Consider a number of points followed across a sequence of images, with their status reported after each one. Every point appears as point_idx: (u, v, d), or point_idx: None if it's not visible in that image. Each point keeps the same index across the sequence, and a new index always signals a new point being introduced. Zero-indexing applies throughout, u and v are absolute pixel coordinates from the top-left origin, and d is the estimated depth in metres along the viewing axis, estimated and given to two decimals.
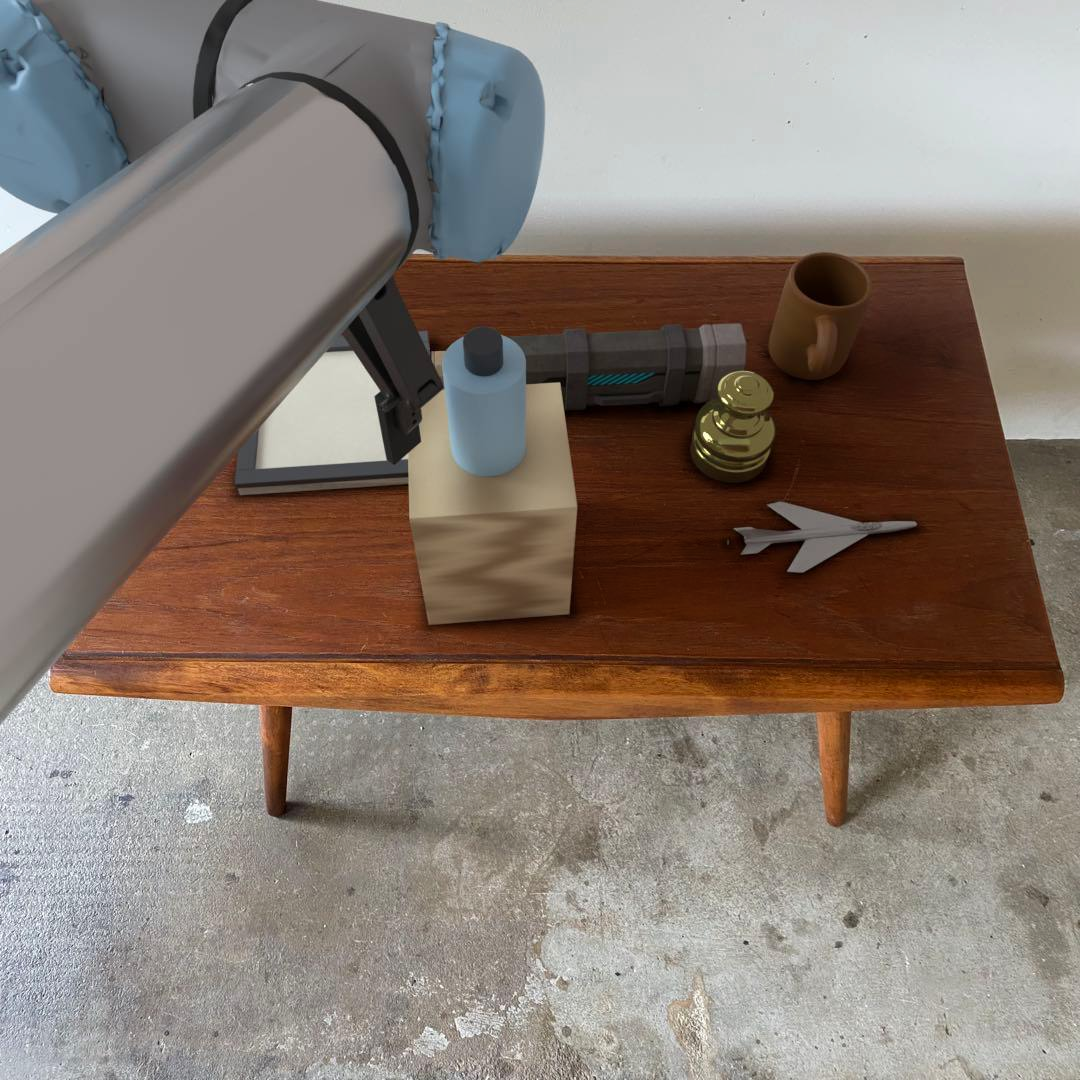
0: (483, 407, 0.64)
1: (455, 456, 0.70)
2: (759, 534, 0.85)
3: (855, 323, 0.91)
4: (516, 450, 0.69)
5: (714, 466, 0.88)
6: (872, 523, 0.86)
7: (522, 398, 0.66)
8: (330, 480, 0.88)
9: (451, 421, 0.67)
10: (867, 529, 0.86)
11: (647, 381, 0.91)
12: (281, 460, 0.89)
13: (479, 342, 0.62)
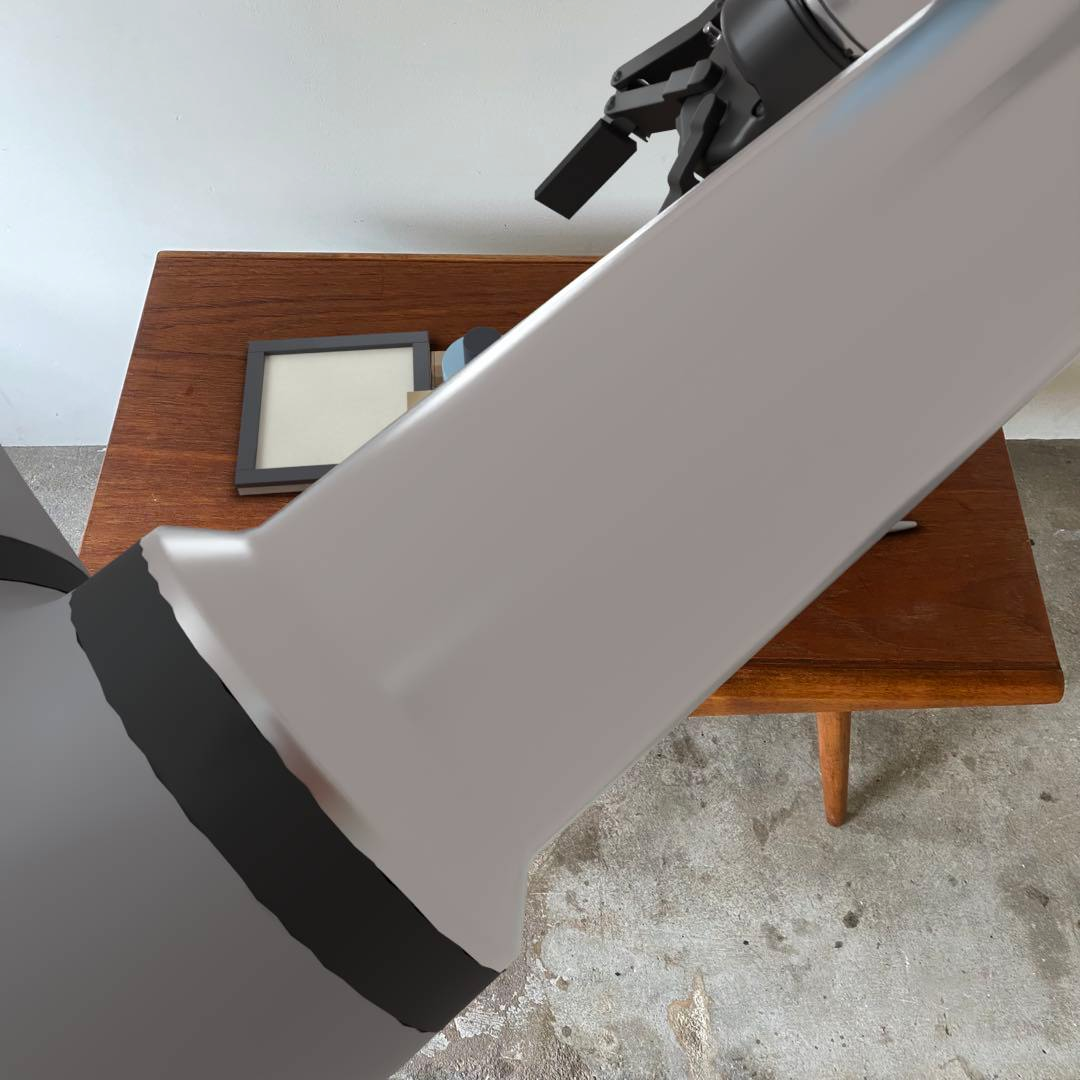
0: None
1: None
2: None
3: None
4: None
5: None
6: None
7: None
8: None
9: None
10: None
11: None
12: (281, 460, 0.89)
13: (479, 342, 0.62)
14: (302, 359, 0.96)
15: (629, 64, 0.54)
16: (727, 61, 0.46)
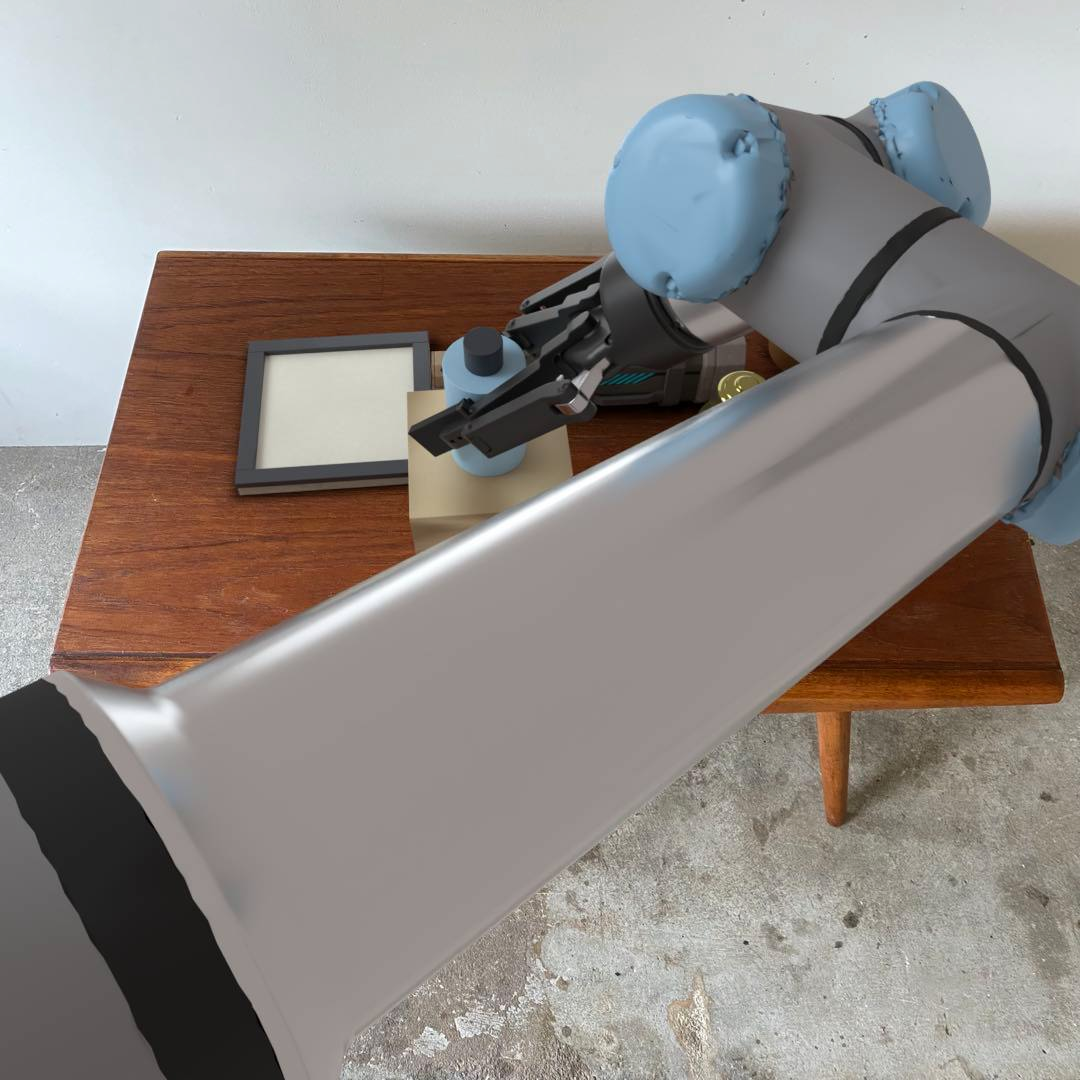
0: None
1: (455, 456, 0.70)
2: None
3: None
4: (516, 450, 0.69)
5: None
6: None
7: None
8: (330, 480, 0.88)
9: None
10: None
11: (647, 381, 0.91)
12: (281, 460, 0.89)
13: (479, 342, 0.62)
14: (302, 359, 0.96)
15: (537, 295, 0.66)
16: None
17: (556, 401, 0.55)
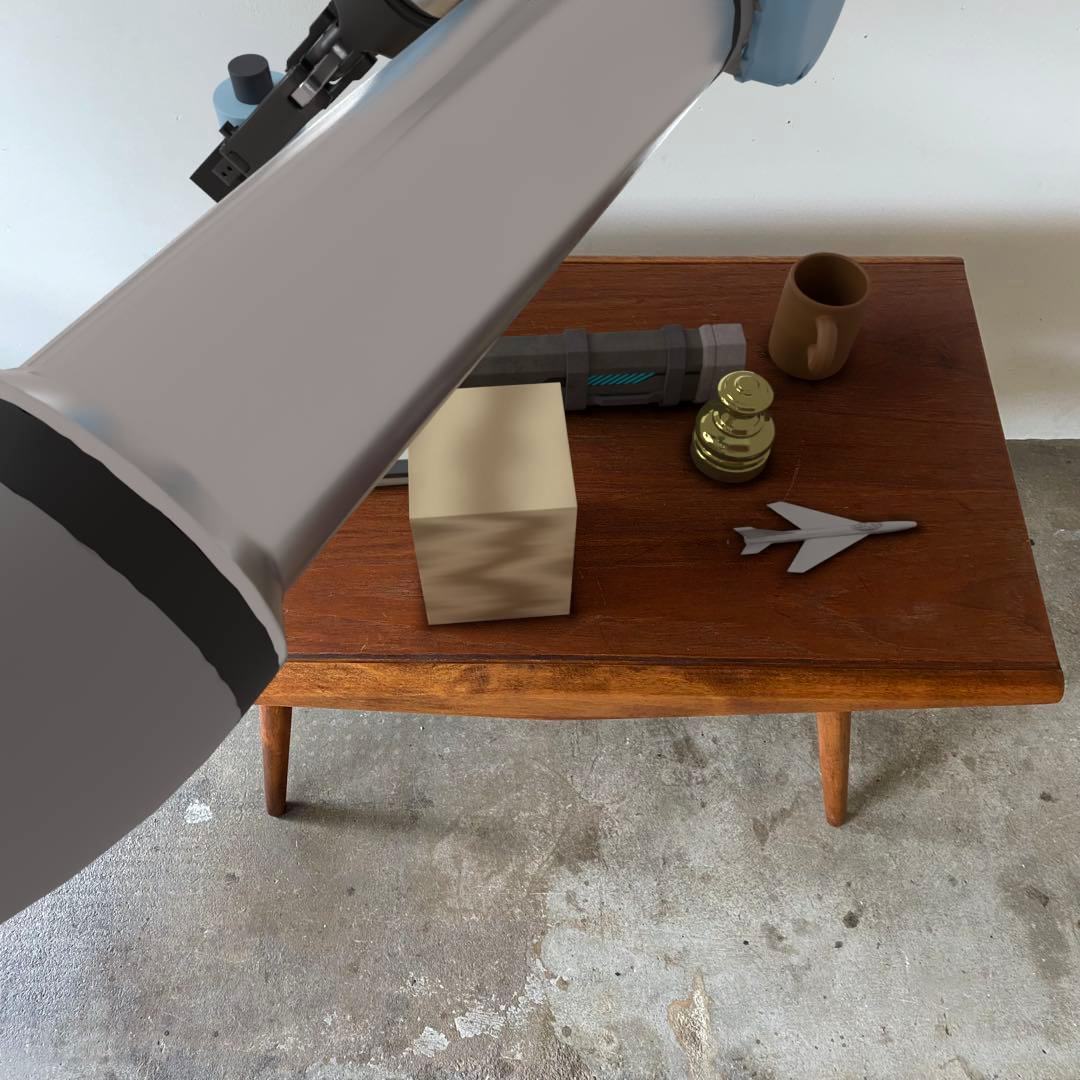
0: None
1: None
2: (759, 534, 0.85)
3: (855, 323, 0.91)
4: None
5: (714, 466, 0.88)
6: (872, 523, 0.86)
7: (298, 135, 0.65)
8: None
9: None
10: (867, 529, 0.86)
11: (647, 382, 0.91)
12: None
13: (243, 65, 0.62)
14: None
15: None
16: None
17: (289, 87, 0.55)
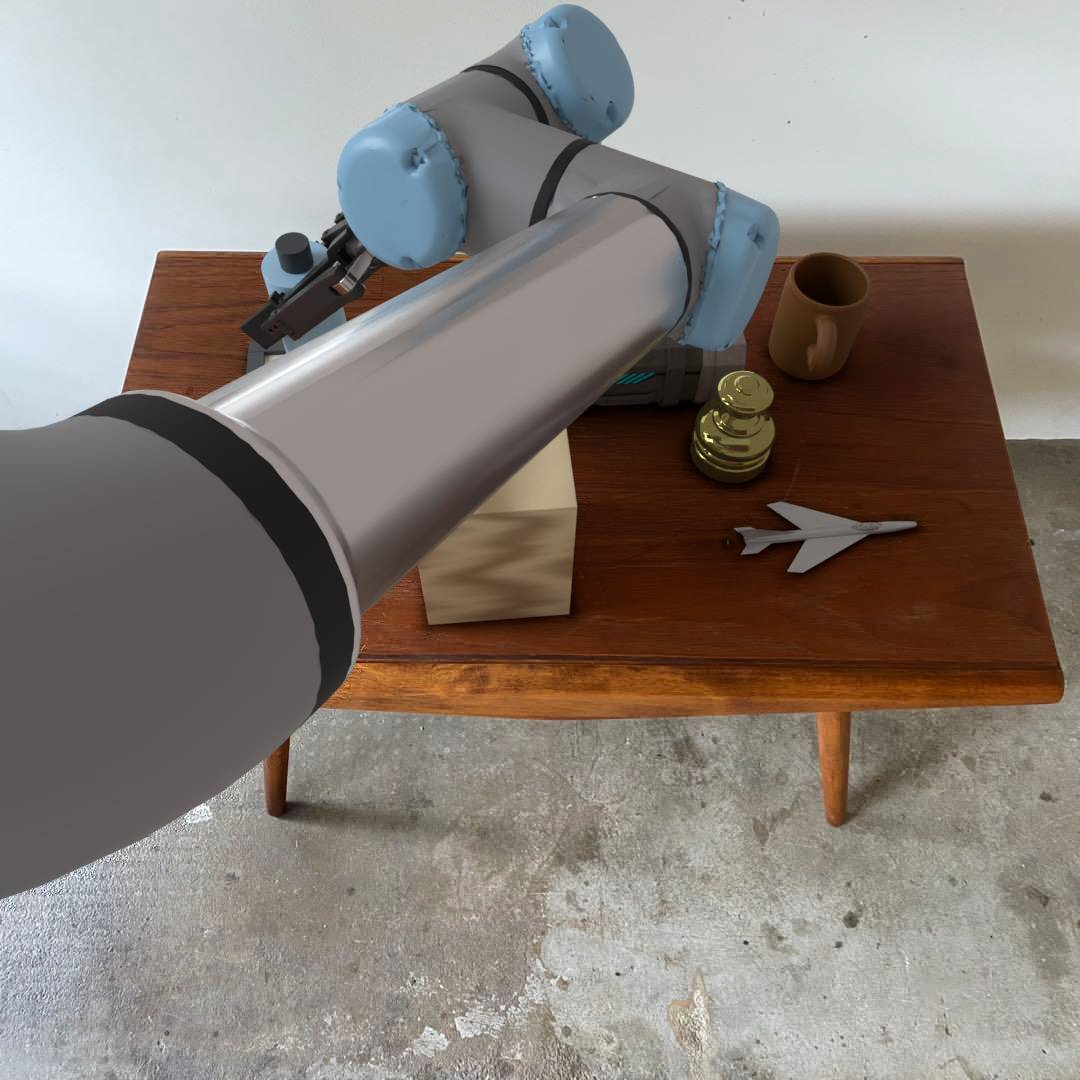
0: None
1: (286, 351, 0.82)
2: (759, 534, 0.85)
3: (855, 323, 0.91)
4: None
5: (714, 466, 0.88)
6: (872, 523, 0.86)
7: None
8: None
9: None
10: (867, 529, 0.86)
11: (647, 382, 0.91)
12: None
13: (288, 243, 0.74)
14: None
15: None
16: None
17: (330, 281, 0.67)
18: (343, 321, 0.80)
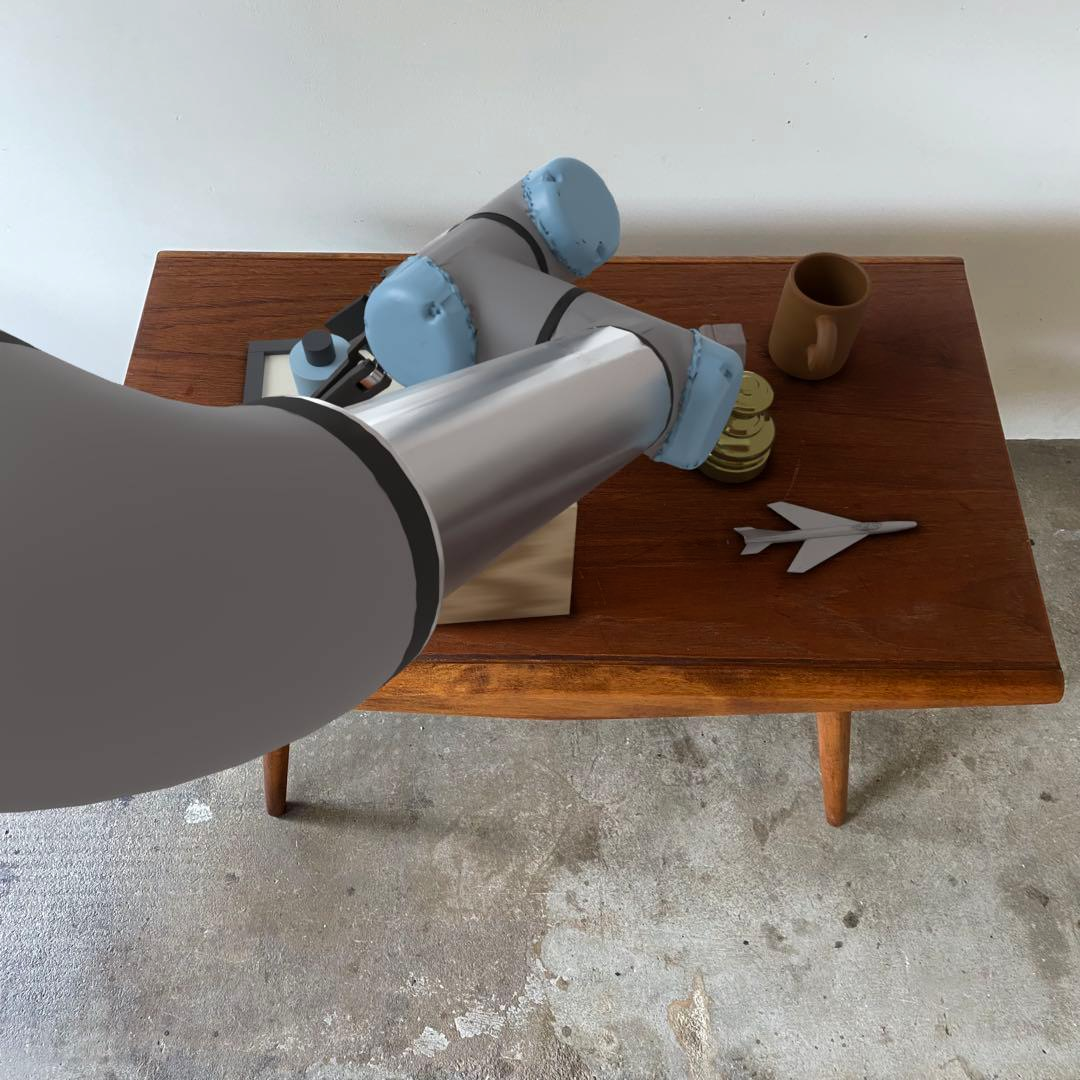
0: None
1: None
2: (759, 534, 0.85)
3: (855, 323, 0.91)
4: None
5: (714, 466, 0.88)
6: (872, 523, 0.86)
7: None
8: None
9: None
10: (867, 529, 0.86)
11: None
12: None
13: (313, 340, 0.83)
14: None
15: (390, 268, 0.86)
16: None
17: (361, 375, 0.73)
18: None
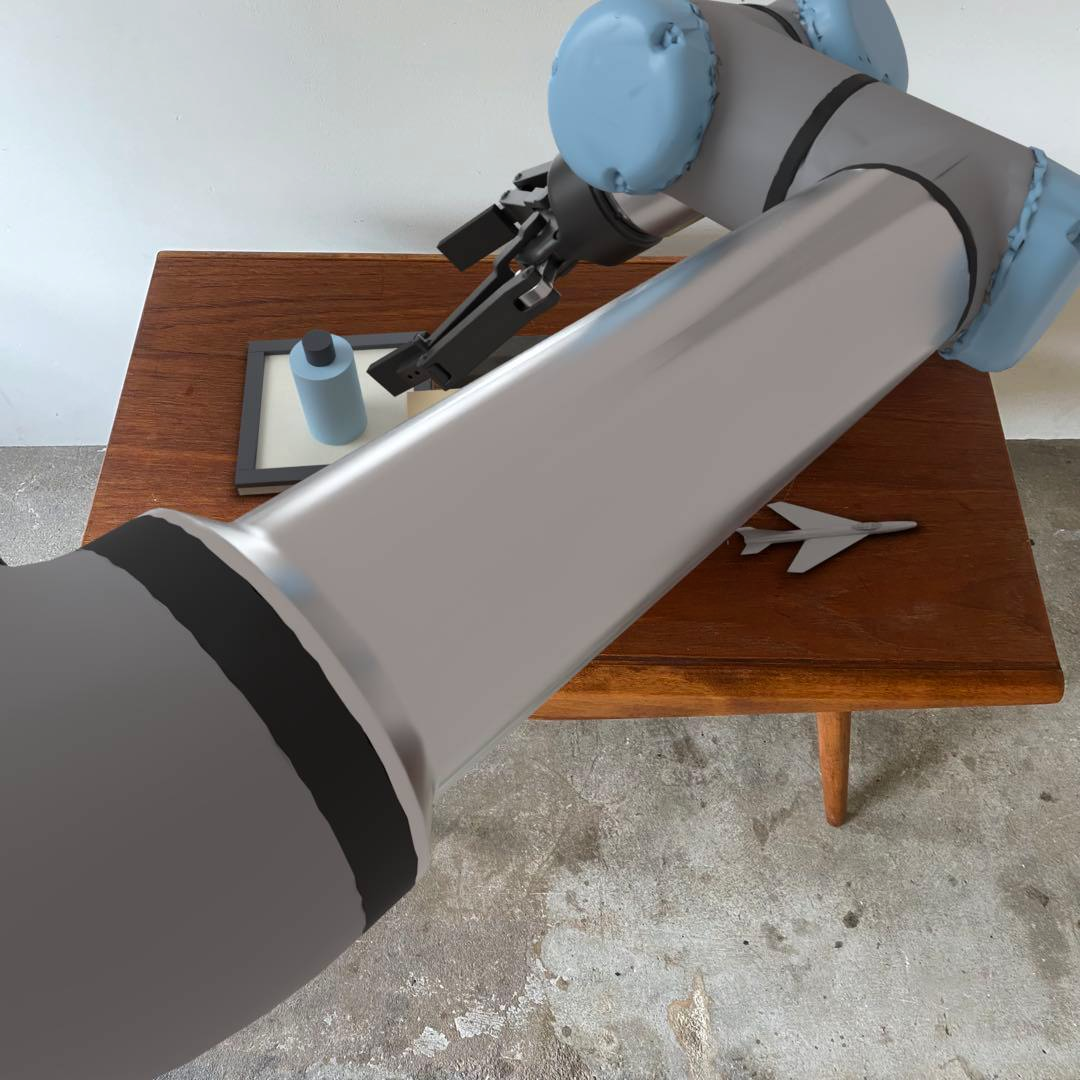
0: (319, 390, 0.84)
1: (309, 429, 0.91)
2: (759, 534, 0.85)
3: None
4: (354, 424, 0.89)
5: None
6: (872, 523, 0.86)
7: (353, 384, 0.86)
8: None
9: (301, 401, 0.87)
10: (867, 529, 0.86)
11: None
12: (281, 460, 0.89)
13: (313, 340, 0.83)
14: None
15: (527, 171, 0.69)
16: None
17: (522, 288, 0.56)
18: (361, 404, 0.89)
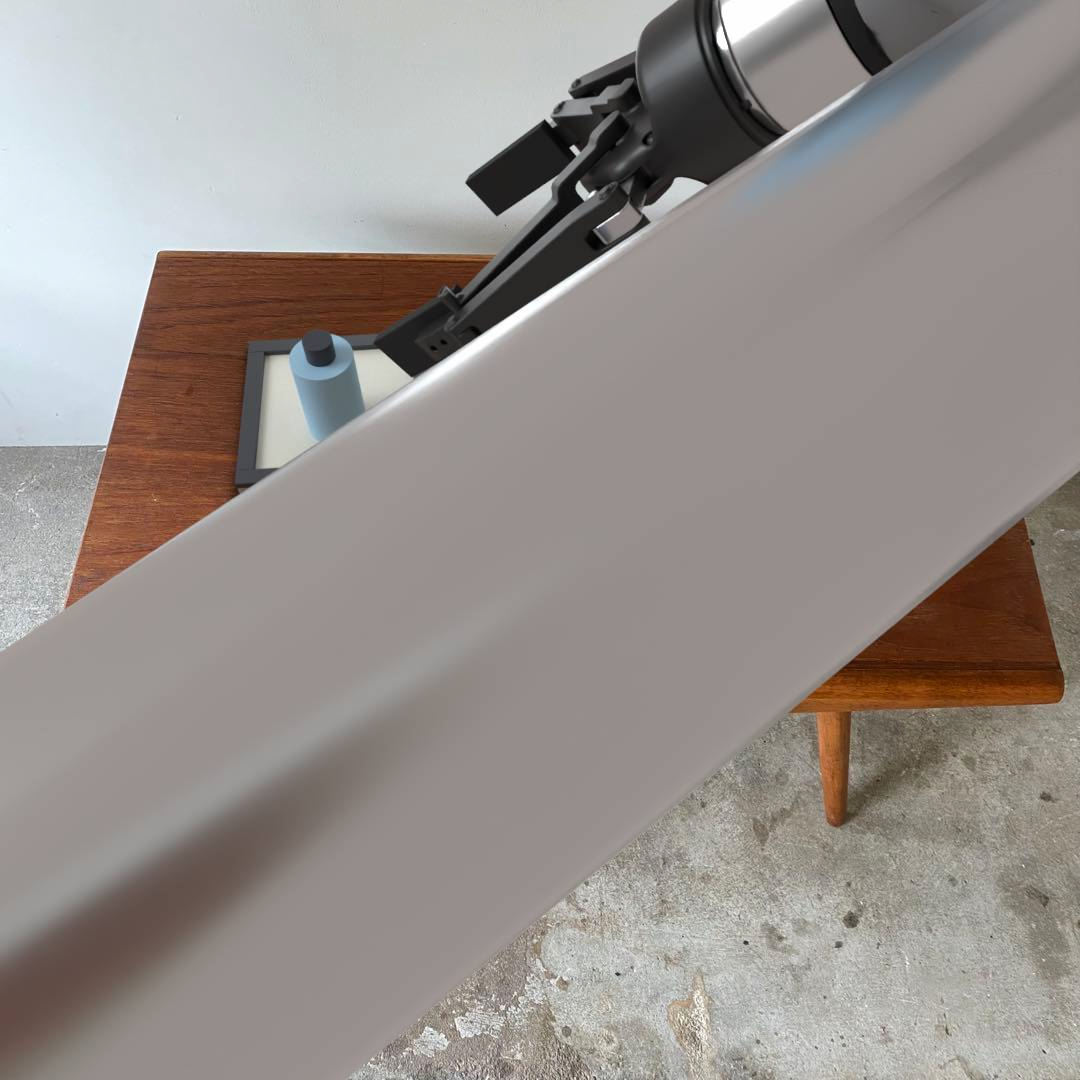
0: (319, 390, 0.84)
1: (309, 429, 0.91)
2: None
3: None
4: None
5: None
6: None
7: (353, 384, 0.86)
8: None
9: (301, 401, 0.87)
10: None
11: None
12: (281, 460, 0.89)
13: (313, 340, 0.83)
14: None
15: (589, 75, 0.51)
16: None
17: (600, 215, 0.39)
18: (361, 404, 0.89)
